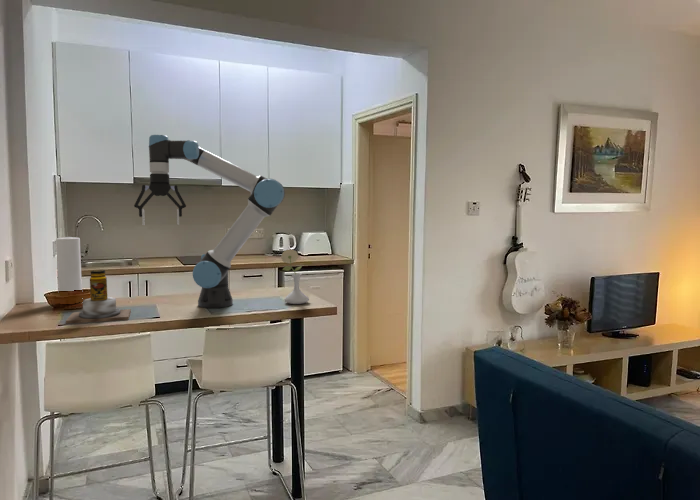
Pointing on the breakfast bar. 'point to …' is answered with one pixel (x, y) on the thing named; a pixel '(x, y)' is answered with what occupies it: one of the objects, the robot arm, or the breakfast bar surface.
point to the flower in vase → (296, 294)
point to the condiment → (98, 286)
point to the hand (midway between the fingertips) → (161, 224)
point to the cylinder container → (69, 264)
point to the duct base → (80, 320)
